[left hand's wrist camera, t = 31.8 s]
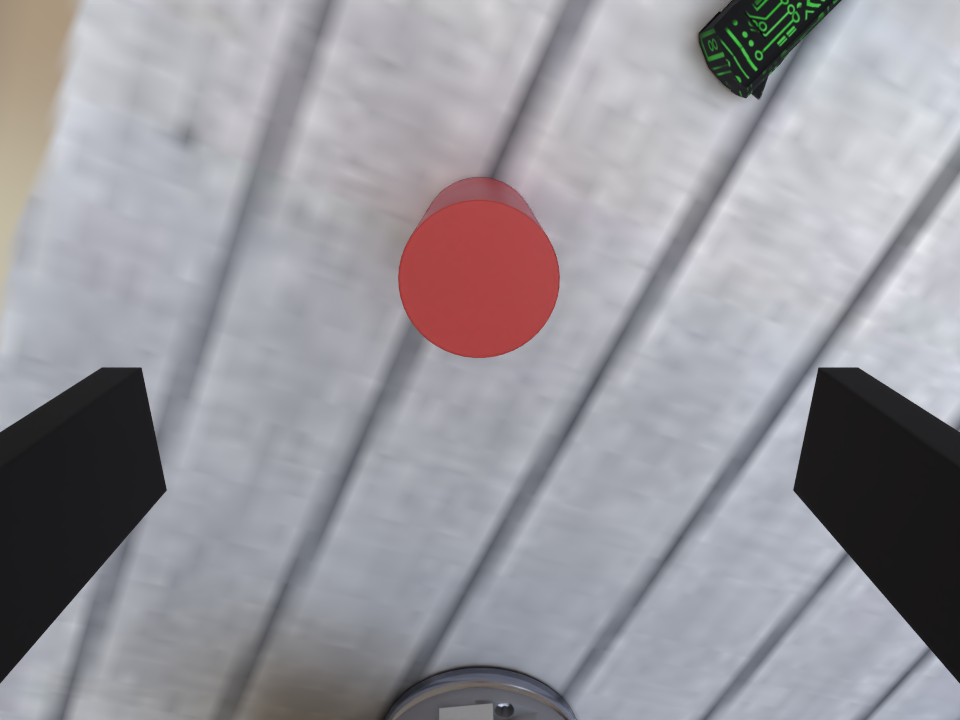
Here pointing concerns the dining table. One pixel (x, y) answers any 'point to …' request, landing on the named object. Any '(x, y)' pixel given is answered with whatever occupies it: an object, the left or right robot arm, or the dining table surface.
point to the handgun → (757, 39)
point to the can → (479, 271)
